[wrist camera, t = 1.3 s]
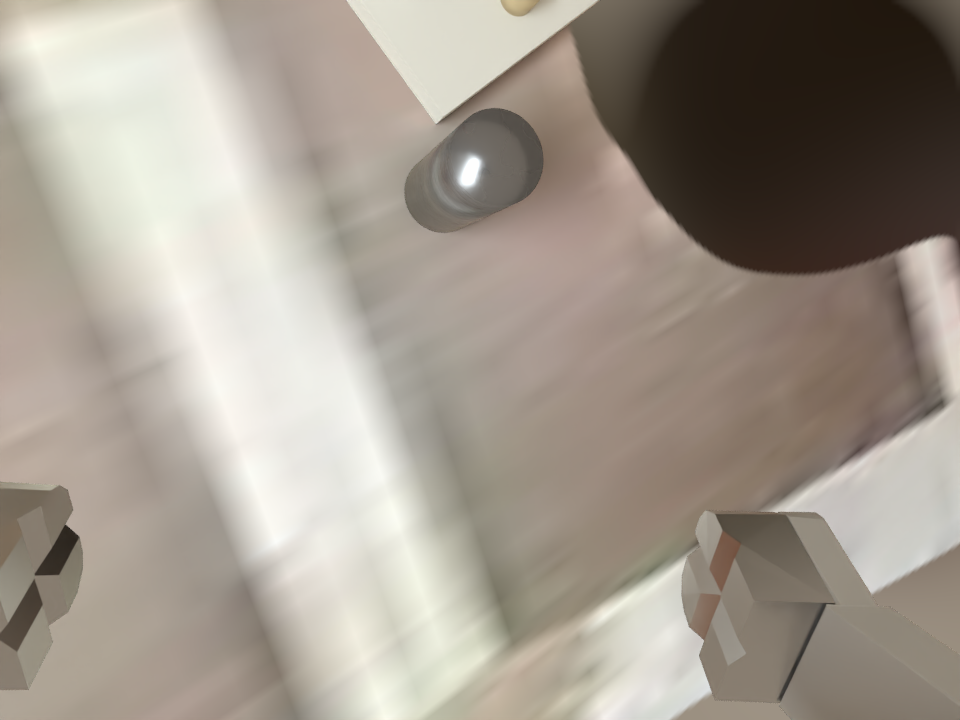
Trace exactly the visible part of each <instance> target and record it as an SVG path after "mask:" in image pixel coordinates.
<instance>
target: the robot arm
mask: <svg viewBox="0 0 960 720" xmlns="http://www.w3.org/2000/svg"><path fill="white" fill-rule="evenodd" d="M72 511H73V507H72V503H71V500H70V496H69V493H68V490H67V489H65V488H63V487H62V486H60V485H46V484H29V483H13V482H0V690H29V688H30V686H31V684H32V682H33V680H34V678H35V677H36V675H37V673H38V671H39V669H40V667H41V665H42V663H43V661H44V659H45V657H46V655H47V653H48V651H49V649H50V647H51V645H52V643H53V640H52V637H51V633H50V629H49V625H50V624H52V623H53V622H55V621H56V620H58V619H59V618H60V617H62V616H63V615H65V614H66V613H67V612H68V611H69V609H70V607H71V605H72V603H73V601H74V599H75V597H76V594H77V592H78V588H79V583H80V579H81V575H82V570H83V551H82V546H81V541H80V537H79V536H78V535H77V534H76V533H75V532H74V531H72V530H71V529H70V528H69V527H68V526H67V525H65V524H66V522H67V520H68V519H69V517H70V515H71V513H72ZM695 534H696V536H697V539H698V541H699V544H700V547H699V548H697V549H696V550H695V551H694V552H692V553H691V554H690V555H688V556H687V559H686V562H685V566H684V570H683V573H682V593H681V596H682V602H683V608H684V612H685V615H686V618H687V622H688V625H689V627H690V628H691V629H692V630H693V631H694V632H695V633H697V634H698V635H699V636H700V637H701V638H702V639H703V640H704V643H703V646H702V649H701V652H700V654H699V657H700V660H701V662H702V665H703V668H704V671H705V674H706V677H707V679H708V682H709V685H710V688H711V691H712V694H713V696H714V699H715V700H721V701H744V702H767V703H780V705H779V707H780V708H781V709H782V710H783V711H784V712H785V713H786V714H787V715H788V716H789V718H790V719H791V720H960V655H959V654H958V653H956V652H955V651H953V650H952V649H950V648H949V647H948V646H946V645H945V644H943V643H942V642H940V641H939V640H937V639H936V638H934V637H933V636H932V635H930V634H929V633H927V632H926V631H924V630H923V629H921V628H920V627H919V626H917V625H916V624H914V623H913V622H911V621H910V620H908V619H907V618H906V617H904V616H903V615H901V614H900V613H898V612H897V611H896V610H894V609H893V608H891V607H887V606H878V604H877V603H876V601H875V599H874V598H873V596H872V595H871V593H870V591H869V590H868V588H867V587H866V585H865V583H864V582H863V580H862V579H861V577H860V575H859V574H858V572H857V571H856V569H855V567H854V566H853V564H852V563H851V561H850V559H849V558H848V556H847V555H846V553H845V551H844V550H843V548H842V547H841V545H840V543H839V542H838V540H837V539H836V537H835V535H834V534H833V532H832V531H831V529H830V527H829V526H828V524H827V523H826V521H825V520H824V518H823V517H821V516H820V515H818V514H817V513H814V512H778V513H775V512H749V511H717V510H706V511H705V512H704V513H703V514H702V516H701V517H700V519H699V522H698V525H697V528H696V530H695Z"/></svg>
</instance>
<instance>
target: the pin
mask: <svg viewBox="0 0 960 720" xmlns="http://www.w3.org/2000/svg"><path fill="white" fill-rule="evenodd" d="M542 169H543V152H542V147H541V144H540V141H539V139H538V136H537V135H536V133H535V131H534V130H533V128H532V127H531V126H530V125H529V124H528V123H527V122H526V121H525V120H524V119H523V118H522V117H520V116H519V115H517V114H515V113H513V112H511V111H508V110H504V109H498V108H491V109H485V110H481V111H479V112H476V113H474V114H473V115H471V116H470V117H469V118H467V119H466V120H465V121H464V122H463V123H462V124H461V125H460V126H458V127H457V128H456V129H455V130H454V131H453V132H452V133H451V134H450V135H448V136H447V137H446V138H445V139H444V140H443V141H442V142H441V143H440V144H439V145H437V146H436V147H435V148H434V149H433V150H432V151H431V152H430V153H429V154H427V155H426V156H425V157H424V158H423V159H422V160H421V161H420V162H419V163H418V164H416V165H415V166H414V168H413V169H412V170H411V172H410V173H409V175H408V177H407V180H406V183H405V200H406V204H407V207H408V209H409V211H410V213H411V215H412V216H413V218H414V219H415V220H416V221H417V222H418V223H419V224H420V225H422V226H423V227H425V228H427V229H429V230H431V231H435V232H441V233H446V232H453V231H455V230H458V229H460V228H462V227H465V226H467V225H469V224H471V223H473V222H476V221H478V220H480V219H482V218H484V217H487V216H489V215H491V214H493V213H495V212H498V211H500V210H502V209H504V208H507V207H509V206H511V205H513V204H515V203H517V202H519V201H521V200H523V199H524V198H526V197H527V196H528V195H529V194H530V193H531V192H532V191H533V190H534V189H535V187H536V185H537V184H538V182H539V179H540V177H541V173H542Z"/></svg>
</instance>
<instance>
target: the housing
mask: <svg viewBox="0 0 960 720" xmlns="http://www.w3.org/2000/svg"><path fill="white" fill-rule="evenodd" d="M346 1H347V2H348V4H349V5H350V6H351V8H352V9H353V10H354V12H355V13H356V15H357V16H358V17H359V19H360V20H361V22H362V23H363V24H364V26H365V27H366V28H367V30H368V31H369V33H370V34H371V35H372V37H373V38H374V39H375V41H376V42H377V44H378V45H379V46H380V48H381V49H382V50H383V52H384V53H385V55H386V56H387V57H388V59H389V60H390V61H391V63H392V64H393V66H394V67H395V68H396V70H397V71H398V72H399V74H400V75H401V77H402V78H403V79H404V81H405V82H406V84H407V85H408V86H409V88H410V89H411V90H412V92H413V93H414V95H415V96H416V97H417V99H418V100H419V101H420V103H421V104H422V106H423V107H424V108H425V110H426V111H427V112H428V114H429V115H430V117H431V118H432V119H433V121H434V122H435V123H436V124H437V123H439V122H440V121H441V120H442V119H444V118H445V117H446V116H448V115H449V114H450V113H452V112H453V111H454V110H456V109H457V108H458V107H460V106H461V105H462V104H464V103H465V102H466V101H468V100H469V99H470V98H472V97H473V96H474V95H476V94H477V93H478V92H480V91H481V90H482V89H484V88H485V87H486V86H488V85H489V84H490V83H492V82H493V81H494V80H496V79H497V78H498V77H500V76H501V75H502V74H504V73H505V72H506V71H508V70H509V69H510V68H511V67H513V66H514V65H515V64H517V63H518V62H519V61H521V60H522V59H523V58H525V57H526V56H527V55H529V54H530V53H531V52H533V51H534V50H535V49H537V48H538V47H539V46H541V45H542V44H543V43H545V42H546V41H547V40H549V39H550V38H551V37H553V36H554V35H555V34H557V33H558V32H559V31H561V30H562V29H563V28H565V27H566V26H567V25H569V24H570V23H571V22H573V21H574V20H575V19H576V18H578V17H579V16H580V15H582V14H583V13H584V12H586V11H587V10H588V9H590V8H591V7H592V6H594V5H595V4H596V3H598V2H599V1H600V0H346Z"/></svg>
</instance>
